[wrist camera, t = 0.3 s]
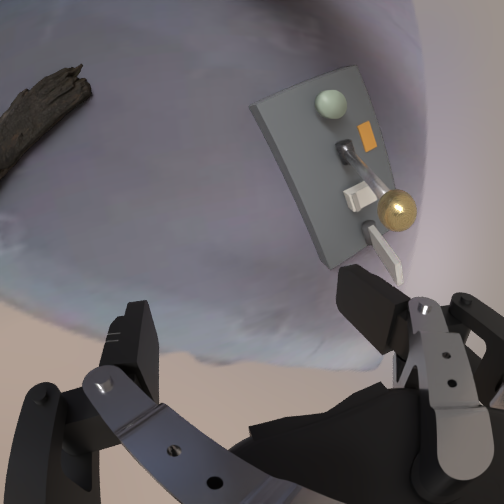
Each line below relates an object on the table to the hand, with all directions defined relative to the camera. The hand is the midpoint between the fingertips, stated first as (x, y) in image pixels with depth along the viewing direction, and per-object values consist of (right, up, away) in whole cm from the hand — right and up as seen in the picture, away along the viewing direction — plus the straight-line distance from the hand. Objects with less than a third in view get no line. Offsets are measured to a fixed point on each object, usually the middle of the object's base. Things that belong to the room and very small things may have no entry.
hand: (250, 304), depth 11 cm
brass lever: (+11, +13, +18) cm, 25 cm away
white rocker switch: (+13, +9, +21) cm, 26 cm away
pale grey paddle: (+16, +5, +24) cm, 29 cm away
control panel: (+11, +13, +23) cm, 29 cm away
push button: (+8, +18, +16) cm, 25 cm away
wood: (-28, +16, +10) cm, 34 cm away
